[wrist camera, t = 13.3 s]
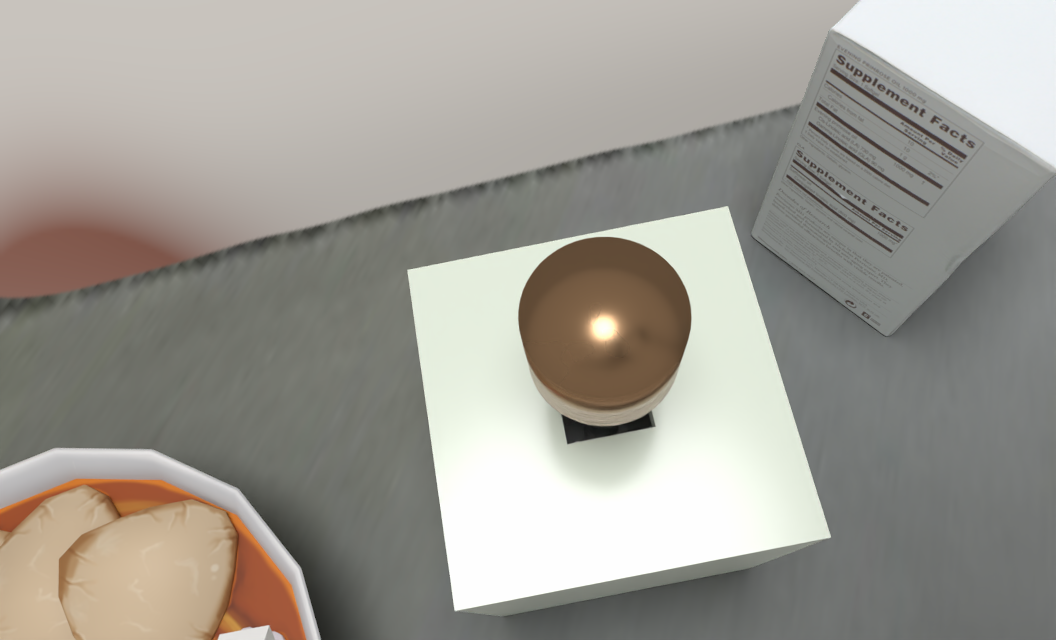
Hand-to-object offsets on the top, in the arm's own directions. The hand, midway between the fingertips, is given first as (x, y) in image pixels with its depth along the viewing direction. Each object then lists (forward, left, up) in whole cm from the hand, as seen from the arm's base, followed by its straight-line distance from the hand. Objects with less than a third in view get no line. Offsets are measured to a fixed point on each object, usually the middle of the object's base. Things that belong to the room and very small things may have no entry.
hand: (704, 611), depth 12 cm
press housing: (0, -7, -27) cm, 28 cm away
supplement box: (-17, -17, -27) cm, 37 cm away
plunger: (0, -7, -25) cm, 26 cm away
